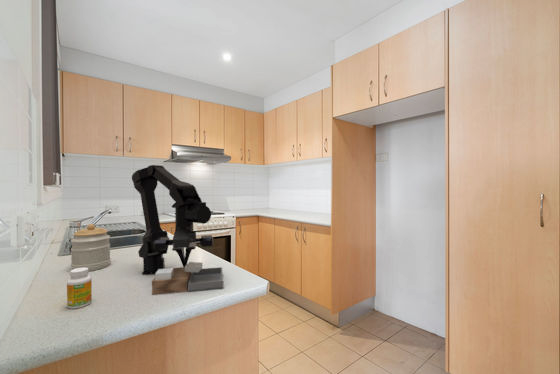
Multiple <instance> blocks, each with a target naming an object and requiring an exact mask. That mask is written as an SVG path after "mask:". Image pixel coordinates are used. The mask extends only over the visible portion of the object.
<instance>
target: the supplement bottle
mask: <svg viewBox="0 0 560 374" xmlns="http://www.w3.org/2000/svg"><path fill="white" fill-rule="evenodd" d="M69 276H70V278H68V280H67V281H66V305H67V308H68V309H72V310H73V309H80V308H83V307H86V306H89V305H90V304H91V303H92V294H93V293H92V288H93V287H92V276H91V275H89V271H88V268H77V269H73V270H72V269H70V270H69Z"/></svg>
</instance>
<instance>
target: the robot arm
mask: <svg viewBox="0 0 560 374" xmlns="http://www.w3.org/2000/svg"><path fill="white" fill-rule="evenodd" d="M131 181H132V183H133V187H134V189H135V190H136V191H137V192H138V193H139V194H140V200H141V205H142V213H143V217H144V222H145V223H144V224H145V232H144V235H143V237H142V245H141V247H140V248H139V250H138V253H137V254H138V257H139V258H142V260H143V271H142V273H141V274H142V275H152V274H155V273H156V272H157V271H158V269H166V268H165V257H164V255H166V254H168V250H169V246H172V248H171V250H172V252H173V251H174V252H176V253H177V255H178V256H179V259H180V262H181V264H182V267H185V265H186V264H188V263H189V258H190V255H191V252H192V250H193V251H194V250H195V249H196V247H197V244H198V245H200V246H202V247H212V246H213V245H214V236H213V235H211V234H209V235H206V234H205V235H201V236H200V237H198V238H197V231H196V230H194V223H197V224H203V225H204V224H207V223H208V222H210V220H211V217H212V211H211V209H210V208H209V206H207V202H206V201H202V199H201V197H200V195H199V193H198V191H197V188H196V187H195V185H194V184H191V183H189V182H185V181H182V180H180V179H179V178H177V177H176V176H174V175H173V174H172V173H171V172H169V171H168V170H167V169H166V168H165V167H164V165H159V164H158V165H157V164H151V165H148V166H147V167H144V168H140V169H138V170H135V171H134V172H133V173H132V175H131ZM158 182H159V183H160V184H161V185H163V186H164V187H165V188H166V189H167V190H168V191H169V193H168V195H169V196H170V198H172V200H173V201H174V203H173V204H172V205H171V208H172V209H175V210H174V211H175V213H174V214H175V215H174V217H175V218H174V219H175V220H174V221H175V223H174V225H175V230H174V233H173V237H172V239H170V237H169V235H168V231H167V230H163V228H162V227H161V223H160V216H159V211H158V204H157V199H156V193H155V191H156V189H157V187H158Z"/></svg>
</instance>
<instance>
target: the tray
mask: <svg viewBox="0 0 560 374" xmlns="http://www.w3.org/2000/svg"><path fill="white" fill-rule="evenodd" d="M223 282H224V281H223V267H222V266H221V267H220V266H219V267H210V268H209V267H207V268H206V267H205V268H202V269H201V270H200V271H199V272H191V276H190V279H189V282H188V291H187V292H188V293H191V292H201V291H202V292H203V291H213V290H222V289H223Z"/></svg>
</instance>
